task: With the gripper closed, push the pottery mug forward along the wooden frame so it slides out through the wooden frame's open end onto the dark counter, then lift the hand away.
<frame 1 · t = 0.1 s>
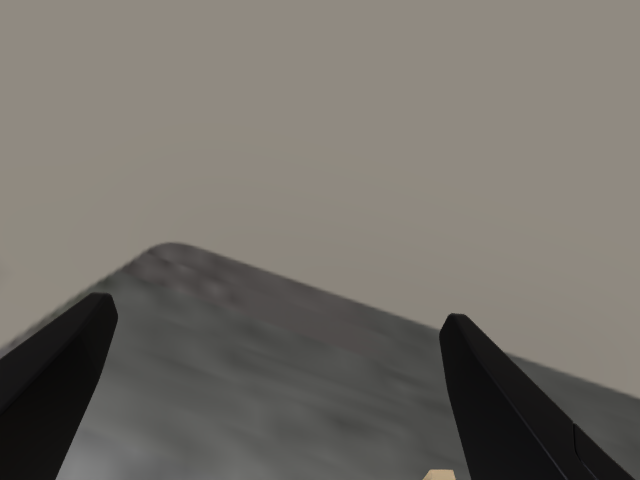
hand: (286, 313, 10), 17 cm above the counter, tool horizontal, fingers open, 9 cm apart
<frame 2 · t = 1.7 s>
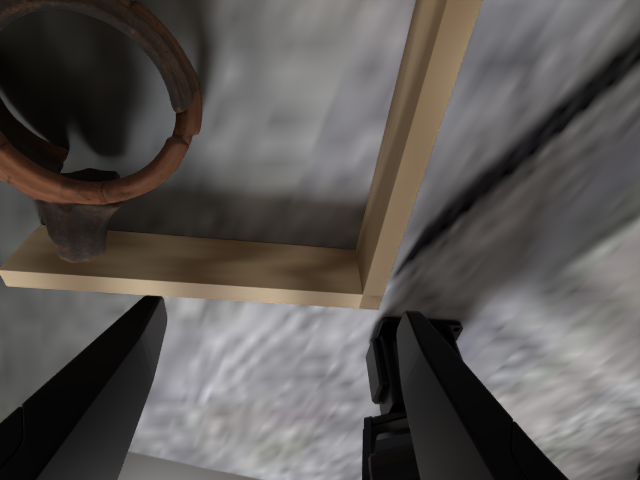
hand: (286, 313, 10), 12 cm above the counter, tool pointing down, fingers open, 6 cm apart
pottery mug: (107, 106, 19), on the counter
wooden frame: (199, 123, 19), on the counter
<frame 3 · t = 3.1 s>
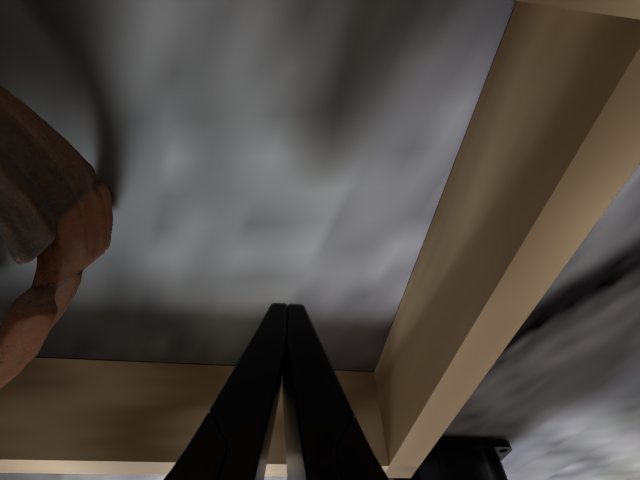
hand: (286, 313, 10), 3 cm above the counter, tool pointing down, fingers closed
wooden frame: (132, 228, 12), on the counter
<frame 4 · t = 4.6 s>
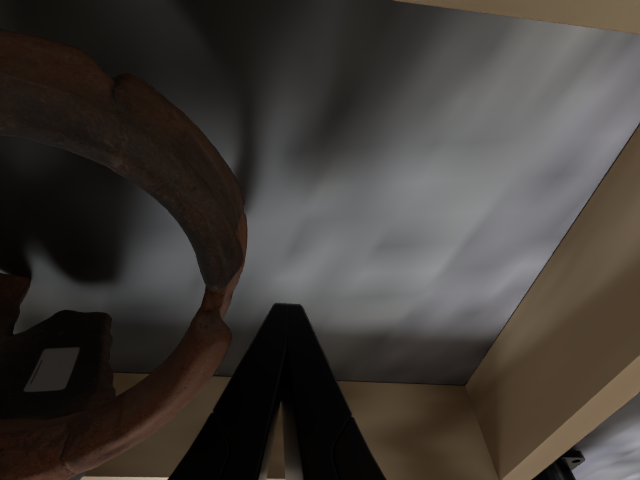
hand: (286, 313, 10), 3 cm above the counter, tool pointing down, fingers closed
pottery mug: (87, 218, 11), on the counter, touching gripper
wooden frame: (267, 251, 12), on the counter
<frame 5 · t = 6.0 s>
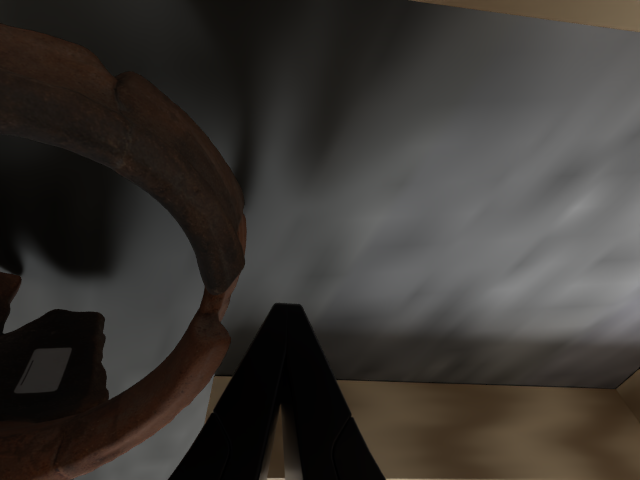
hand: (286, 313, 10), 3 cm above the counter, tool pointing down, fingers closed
pottery mug: (81, 216, 11), on the counter, touching gripper
wooden frame: (497, 266, 13), on the counter
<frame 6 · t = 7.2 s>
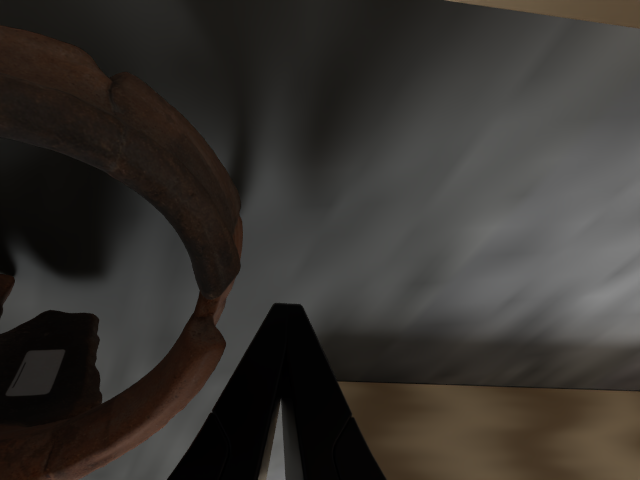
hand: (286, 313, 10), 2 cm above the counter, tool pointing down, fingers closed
pottery mug: (76, 217, 11), on the counter, touching gripper
wooden frame: (596, 274, 13), on the counter
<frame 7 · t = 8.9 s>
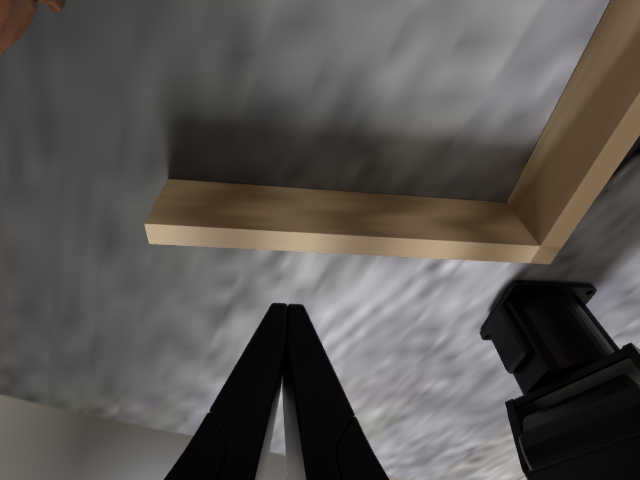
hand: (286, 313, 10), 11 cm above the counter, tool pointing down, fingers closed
wooden frame: (377, 47, 16), on the counter
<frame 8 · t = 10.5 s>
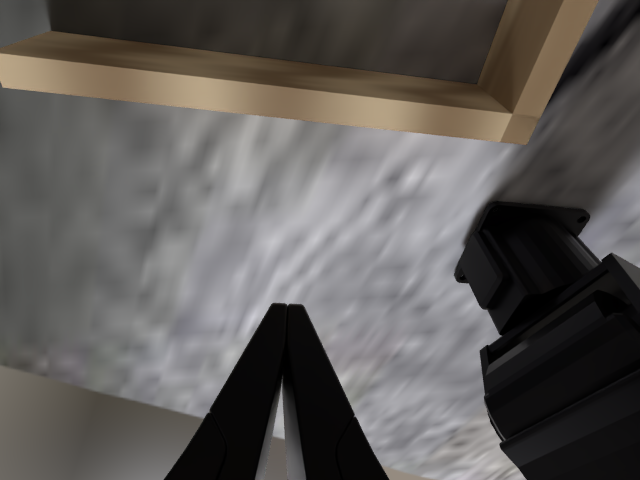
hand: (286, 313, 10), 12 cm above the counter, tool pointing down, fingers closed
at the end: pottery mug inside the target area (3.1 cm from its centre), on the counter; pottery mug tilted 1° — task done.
